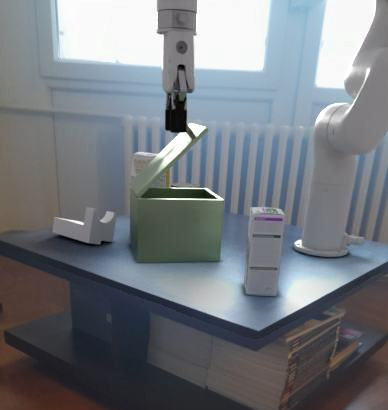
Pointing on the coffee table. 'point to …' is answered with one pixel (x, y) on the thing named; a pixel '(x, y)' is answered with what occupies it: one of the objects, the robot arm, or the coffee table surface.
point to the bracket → (88, 227)
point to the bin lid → (167, 158)
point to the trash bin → (176, 225)
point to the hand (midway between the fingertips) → (175, 130)
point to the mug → (185, 185)
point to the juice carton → (141, 162)
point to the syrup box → (264, 251)
